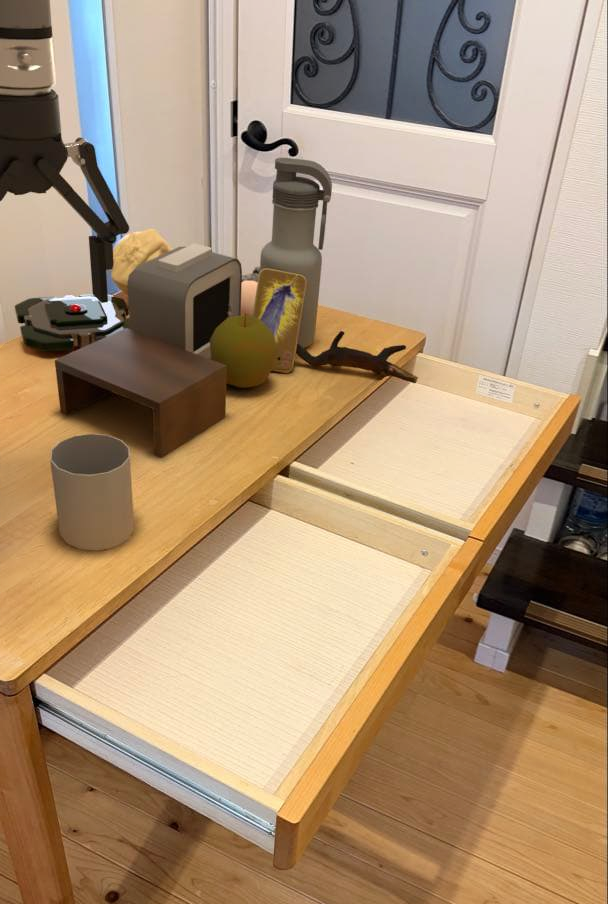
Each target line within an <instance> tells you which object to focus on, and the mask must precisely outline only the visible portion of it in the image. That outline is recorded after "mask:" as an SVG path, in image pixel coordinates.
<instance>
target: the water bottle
mask: <svg viewBox="0 0 608 904" xmlns="http://www.w3.org/2000/svg"><path fill="white" fill-rule="evenodd" d="M274 169H275V170H276V175H275V179H274V181H273V183H272V200H271V203H272V205H273V210H272V211H273V213H272V227H271V228H272V230H271V240H270V241H269V242H267V243H266V244H265V245H264V246H263V247H262V249H261V250H260V251H261V252H260V259H259V261H260V262H259V267H260V271H261V270H262V269H265V268H268V269H274V270H279V271H284V272H289V273H295V274H300V275H303V276H304V277H305V279H306V290H305V296H304V302H303V308H302V315H301V321H300V327H299V333H298V339H297V343H298V344H299V345H300V346H301V347H303V348H304V349H305V348H307V347H309V346H311V345H312V344H313V343H314V341H315V338H316V330H317V318H318V307H319V296H320V287H321V275H322V265H323V256H322V253H321V251H323V249H324V243H325V233H326V224H327V212H328V203H330V201H331V199H332V198H331V197H332V193H333V192H332V191H333V190H332V189H333V183H332V179H331V176H330V174H329V172H328V171H327V170H326V168H325V167H323V166H322V164H320V163H318V162H316V161H313V160H309V159H301V158H292V157H277V158H275V159H274ZM297 174H303V175H307V176H311V177H312V178H314V179H316V180H317V181H318V182H319V183H318V182H316V181H315V180H313V179H312V178H308V177H304V176H299V175H297ZM320 185H321V186H320ZM321 187H322V189H321ZM319 201H322V208H321V218H320V226H319V237H318V247H317V246H316V245H315V244H314V240H315V239H314V238H315V230H316V229H315V226H316V217H317V208H319Z"/></svg>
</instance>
